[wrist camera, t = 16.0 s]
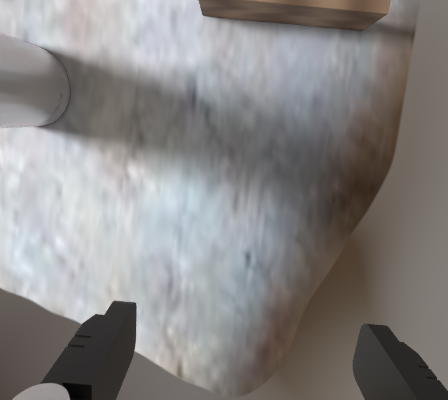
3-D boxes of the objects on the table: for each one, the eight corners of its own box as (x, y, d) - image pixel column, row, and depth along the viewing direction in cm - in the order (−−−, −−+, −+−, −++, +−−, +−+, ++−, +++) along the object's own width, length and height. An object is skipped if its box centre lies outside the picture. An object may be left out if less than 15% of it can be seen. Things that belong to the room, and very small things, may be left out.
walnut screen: (202, 15, 36) (197, -5, 30) (203, 3, 35) (198, -19, 29) (362, 30, 36) (387, 13, 30) (364, 18, 35) (390, -1, 29)
